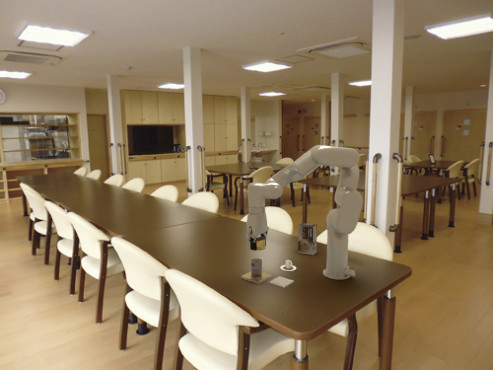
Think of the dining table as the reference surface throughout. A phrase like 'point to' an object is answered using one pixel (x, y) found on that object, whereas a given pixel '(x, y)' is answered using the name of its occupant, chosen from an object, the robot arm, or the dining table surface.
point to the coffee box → (307, 238)
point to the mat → (281, 282)
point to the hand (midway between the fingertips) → (258, 247)
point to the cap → (260, 243)
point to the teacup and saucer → (288, 265)
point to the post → (256, 272)
